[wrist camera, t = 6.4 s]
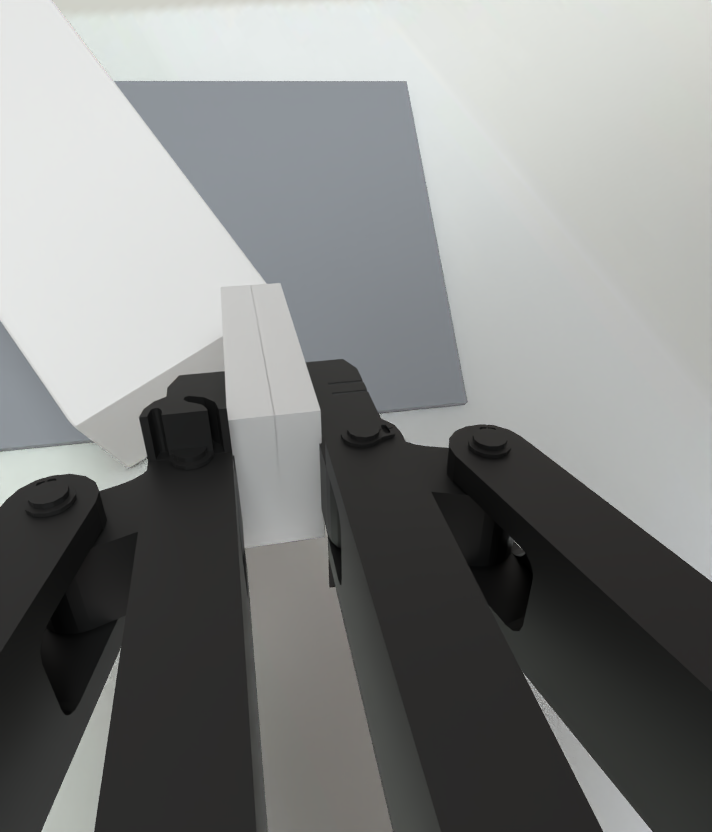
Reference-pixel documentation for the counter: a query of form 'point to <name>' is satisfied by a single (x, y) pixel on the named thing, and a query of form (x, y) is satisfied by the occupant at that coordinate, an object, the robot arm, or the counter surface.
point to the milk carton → (100, 238)
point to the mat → (301, 232)
